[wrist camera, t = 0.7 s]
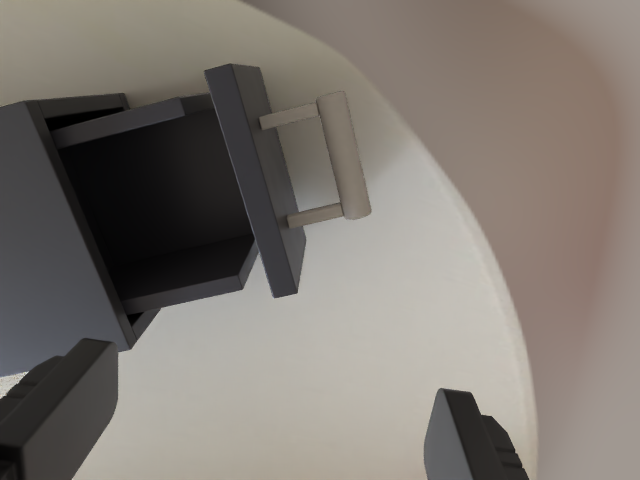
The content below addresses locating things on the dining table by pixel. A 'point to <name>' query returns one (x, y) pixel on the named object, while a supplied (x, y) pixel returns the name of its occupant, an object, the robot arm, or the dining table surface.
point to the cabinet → (52, 242)
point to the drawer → (203, 189)
